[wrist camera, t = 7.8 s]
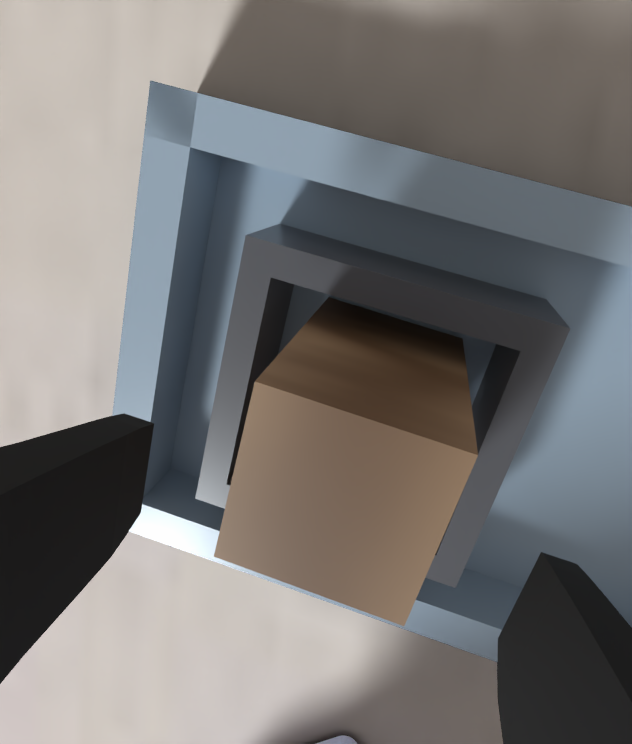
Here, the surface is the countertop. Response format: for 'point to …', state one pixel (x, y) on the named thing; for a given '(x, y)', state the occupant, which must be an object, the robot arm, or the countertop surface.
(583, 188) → the countertop surface
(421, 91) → the countertop surface
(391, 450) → the tan wooden block
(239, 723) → the countertop surface
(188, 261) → the blue shallow rectangular tray
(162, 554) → the countertop surface
